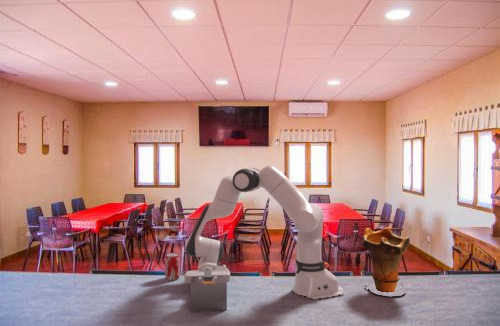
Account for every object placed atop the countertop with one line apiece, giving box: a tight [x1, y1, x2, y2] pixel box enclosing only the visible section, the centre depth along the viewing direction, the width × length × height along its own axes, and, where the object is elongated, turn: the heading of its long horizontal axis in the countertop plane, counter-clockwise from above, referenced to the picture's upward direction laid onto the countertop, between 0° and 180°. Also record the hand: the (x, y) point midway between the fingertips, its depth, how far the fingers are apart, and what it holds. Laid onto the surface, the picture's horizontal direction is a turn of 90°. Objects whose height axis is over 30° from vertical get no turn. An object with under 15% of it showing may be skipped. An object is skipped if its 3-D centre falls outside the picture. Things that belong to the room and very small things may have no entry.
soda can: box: [164, 252, 181, 282], centre depth 181 cm, size 7×7×12 cm
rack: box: [189, 278, 228, 313], centre depth 147 cm, size 14×6×12 cm, turn 98°
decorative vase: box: [362, 226, 410, 293], centre depth 166 cm, size 21×23×28 cm
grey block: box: [204, 270, 212, 281], centre depth 156 cm, size 3×8×10 cm, turn 7°
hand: (207, 282), depth 157 cm, fingers closed on grey block, 3 cm apart
